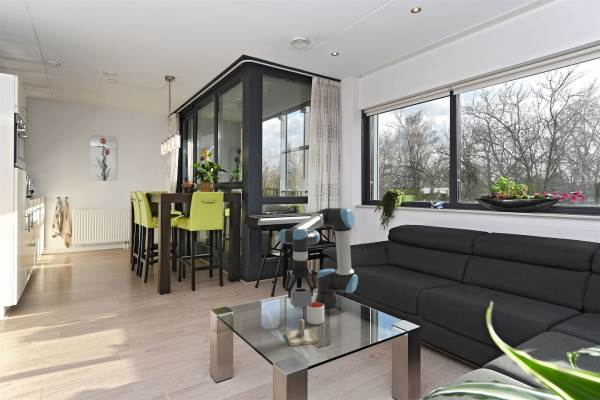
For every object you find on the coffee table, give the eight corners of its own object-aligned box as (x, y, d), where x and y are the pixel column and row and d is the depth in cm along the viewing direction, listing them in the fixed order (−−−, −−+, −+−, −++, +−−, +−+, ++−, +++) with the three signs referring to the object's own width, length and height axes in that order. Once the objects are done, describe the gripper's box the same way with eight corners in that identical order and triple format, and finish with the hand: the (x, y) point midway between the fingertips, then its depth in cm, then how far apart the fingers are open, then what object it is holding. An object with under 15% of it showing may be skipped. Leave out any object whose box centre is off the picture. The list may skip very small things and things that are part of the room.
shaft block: (310, 331, 189) (310, 314, 189) (318, 342, 176) (318, 323, 175) (284, 334, 186) (284, 316, 186) (290, 346, 172) (290, 326, 172)
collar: (307, 300, 185) (306, 287, 185) (311, 305, 177) (311, 291, 177) (290, 302, 183) (290, 288, 183) (294, 307, 175) (293, 293, 175)
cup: (323, 326, 197) (323, 308, 197) (305, 324, 199) (305, 307, 199) (325, 319, 207) (325, 302, 207) (308, 318, 209) (308, 301, 209)
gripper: (318, 257, 186) (319, 299, 186) (278, 259, 181) (278, 302, 181) (323, 259, 178) (323, 303, 179) (280, 261, 173) (280, 307, 174)
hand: (300, 303), depth 180 cm, fingers closed on collar, 9 cm apart
